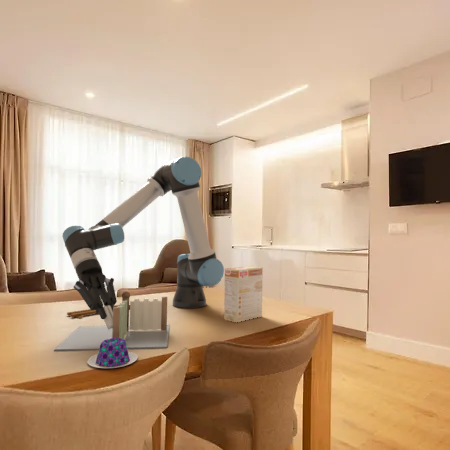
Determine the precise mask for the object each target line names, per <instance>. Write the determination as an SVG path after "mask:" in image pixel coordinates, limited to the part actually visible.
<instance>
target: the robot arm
mask: <svg viewBox="0 0 450 450" xmlns="http://www.w3.org/2000/svg"><path fill="white" fill-rule="evenodd" d="M201 178H202V168H201V166H200V164H199V163H198V161H197V160H196V159H194V158H193V157H190V156H187V155H186V156H179V157H176V158H175V159H172V160H170V161H167V162H166V163H164V164H162V166H160V167H159V168H158V169H157V170H156V171H155V172H154V173H153V174H152V175H150V176H149V177H148V178H147V181H146V183H145V184H143V185H142V186H141V187H140V188H138V190H136V191H135V192H133V194H131V195H130V196H129V197H128V198H126V199H125V200H124V201H123V202H122V203H121V204H120V205H118V206H117V207H115V208H114V209H113V210H111V211H110V212H109V213H108V214H107V215H105V217H103V218H102V219H101V220H100V221H98V222H97V223H96V224H95V225H93V226H91V227H89V228H88V229H85V228H84V227H83V226H81V225H70V226H69V227H67V228H66V229H65V230H64V231H63V232H62V240H63V243H64V247H65V249H66V251H67V252H68V256H69V257H70V260H71V263H72V265H73V266H72V267H73V268H74V270H75V273H76V275H77V278H78V280H76V282H75V284H74V286H73V289H74V290H76V291H77V292H78V293H79V295H80V296H81V297H82V299H83V300H84V302H85V304H86V305H87V307H88V308H89V309H91V310H96V312H97V313H98V312H99V314H98V315H99V317H100V319H101V320H104V323H105V326H107V328H108V330H109V329H111V328H112V329H113V306H115V305H117V304H116V303H117V302H118V301H117V295H116V291H115V286H114V282H115V278H113V277H110V278H108V277H106V275H105V274H104V273H103V269H102V266H101V263H100V262H99V260H98V258H97V255H96V253H95V251H96V250H99V249H104V248H107V247H112V246H117V245H118V244H122V243H123V242H124V241H125V232H124V229H123V228H124V227H125V226H126V225H127V224H128V223H130V222H131V221H132V220H133V219H134V218H136V217H137V216H138V215H139V214H140V213H142V211H143V210H145V209H146V208H147V207H148V206H150V204H152V203H153V202H154V201H155V200H157V198H158V197H159V198H160V197H163V196H165V195H166V194H167V193H169V192H170V191H171V193H172V195H173V196H175V197H176V199H177V203H178V207H179V210H180V211H179V212H180V215H181V219H182V224H183V227H184V232H185V236H186V241H187V244H188V248H189V252H190V253H182V254H179V255H178V256H177V261H176V264H177V265H176V266H177V269H176V278H177V279H176V289H175V292H174V296H173V298H172V306H173V307H175V308H180V309H181V308H182V309H196V308H203V307H205V306H206V305H207V299H206V296H205V292H204V287H214V286H217V285H218V284H219V283H220V282H221V280H222V278H223V277H224V275H225V268H224V265H223V263H222V262H221V261H220V260H219V259H218V258H217V254H216V251H215V249H212V248H211V245H210V241H209V236H208V232H207V227H206V223H205V219H204V214H203V211H202V206H201V202H200V199H199V194H198V192H199V191H200V189H201V187H200V186H201V185H200V182H199V181H200V180H201Z"/></svg>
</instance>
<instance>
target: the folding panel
mask: <svg viewBox="0 0 450 450" xmlns="http://www.w3.org/2000/svg"><path fill="white" fill-rule="evenodd" d="M121 301H122V300H121ZM119 305H120V306H118V307H114V308H113V332H112V338H120V339H122V338H124V334H126V333H127V301H122V302H121V303H119Z"/></svg>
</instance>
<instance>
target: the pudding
mask: <svg viewBox="0 0 450 450" xmlns="http://www.w3.org/2000/svg"><path fill="white" fill-rule="evenodd" d="M138 357H139V356H138V355H137V354H136V353H135V352H132V351H129V349H127V345H126V341H125V340H124V339H120V338H110V339H106V340H104V341H103V342H102V343H101V345H100V349H99V350H98V352H97V354H95V355H92V356H90V358H88V359H87V364H88V365H89V366H91V367H92V368H98V369H116V368H122V367H125V366H128V365H131V364H133V363H134V362H136V361H137V360H138ZM95 363H96V365H95ZM97 365H98V366H97Z"/></svg>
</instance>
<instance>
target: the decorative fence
mask: <svg viewBox="0 0 450 450" xmlns="http://www.w3.org/2000/svg"><path fill="white" fill-rule="evenodd" d="M118 306H120V304H115V305H114V306H113V308H114V307H118ZM129 309H130V304H129ZM95 314H96V315H99V312H98V313H97V312H96V310H91V309H90V308H89V309H82V310H74V311H68V312H66V316H70V317H71V318H76V319H83V318H84V317H83V316H90V315H95Z"/></svg>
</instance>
